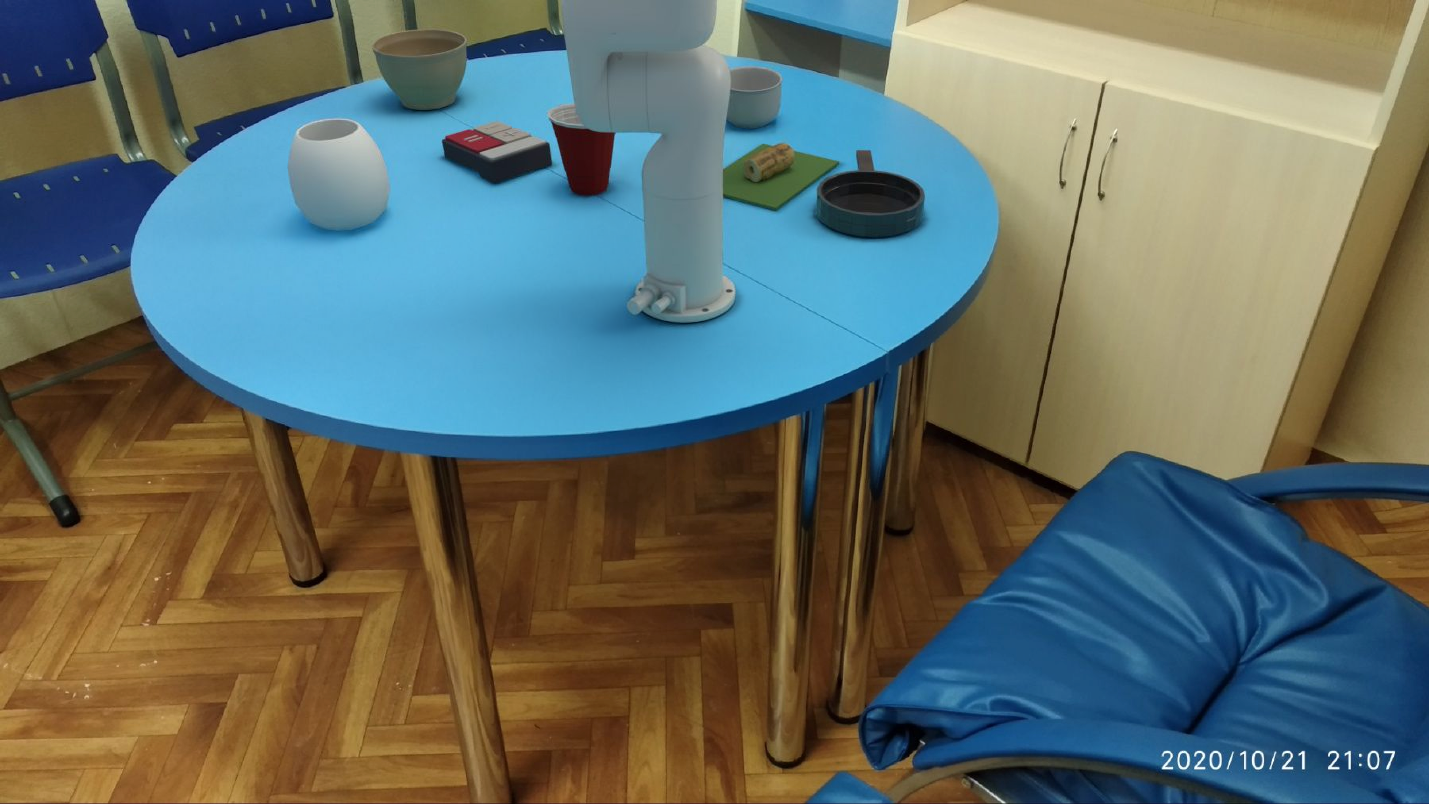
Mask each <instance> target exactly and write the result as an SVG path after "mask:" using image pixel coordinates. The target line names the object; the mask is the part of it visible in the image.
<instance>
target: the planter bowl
mask: <svg viewBox="0 0 1429 804" xmlns="http://www.w3.org/2000/svg"><path fill="white" fill-rule="evenodd" d="M467 47H468V42H467V38H466V37H465V35H463V34H461V33H459V32H457V31H453V30H447V29H439V28H438V29H437V28H435V29H434V28H432V29H431V28H426V29H423V28H422V29H410V30H409V29H407V30H401V31H397V32H393V33H389V34H386V35H383V36H381V37H379V38H377V39H376V40H374V41H373V43H372V45H371V49H372V52H373V54H374V56H375V60H376V65H377V67H378V70H379V73H380V74H381V76H382V78H383V80H384V81H385V83H386V84H387V86H388V87H389V89H390V90H391V91H392V92H393V93H394V94H395V96H397V97H398V98H399V100H400V103H401V105H402V106H403V107H405V108H407V109H409V110H417V111H429V110H430V111H431V110H438V109H442V108H445V107H448V106H450V105H452V104H453V103H455V101H456V93H457V92H458V90H459V88H460V86H461V85H462V83H463V80H464V77H465V73H466V69H467V61H468V60H467V59H468V58H467V55H468V54H467Z"/></svg>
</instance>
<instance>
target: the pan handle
mask: <svg viewBox="0 0 1429 804" xmlns="http://www.w3.org/2000/svg"><path fill="white" fill-rule="evenodd" d="M855 158H856V159H855V160H856V165H857V170H875V166H874V161H873V155H872V150H871V149H868V150H867V149H856V151H855Z"/></svg>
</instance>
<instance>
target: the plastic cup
mask: <svg viewBox="0 0 1429 804" xmlns="http://www.w3.org/2000/svg"><path fill="white" fill-rule="evenodd" d="M546 114H547V118H548V121H550V123H551V127H552V129H553V133H554V136H555V138H556V142H557V146H558V150H559V154H560V158H561V162H562V166H563V171H564V172H565V176H566V179H567V183H568V187H569V189H570V191H571V193H573V194H574V195H578V196H583V197H591V196H598V195H601V194H603V193H605V192H607V190H608V188H609V185H610V176H611V168H612V162H613V153H614V146H615V137H616V133H614V132H597V131H593V130H590V129H588V128H587V127H585V126H584V125H583V124H582V122H581V121H580V119H579V117H578V114H577V111H576V108H575V103H574V102H572V103H567V104H560V105H557V106H554V107H551V108H550V109H549V110H548V111H547V112H546Z"/></svg>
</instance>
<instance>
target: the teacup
mask: <svg viewBox="0 0 1429 804" xmlns="http://www.w3.org/2000/svg"><path fill="white" fill-rule="evenodd" d="M729 69H730V68H729ZM730 76H731V87H730V97H729V104H728V110H727V117H726V121H728V122H730V123H731V125H733V126H735V127H738V128H741V129H758V128H762V127H765V126H766V125H768V124H769V123H771V121H773V120H774V119H775V118H776V117H777V116H778V114H779V112H780V109H781V103H782V102H781V101H782V83H783V77H782V74H780V73H779V72H778V71H776V70H773V69H771V68H768V67H762V66H748V65H747V66H739V67H734V68H731V69H730Z"/></svg>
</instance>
